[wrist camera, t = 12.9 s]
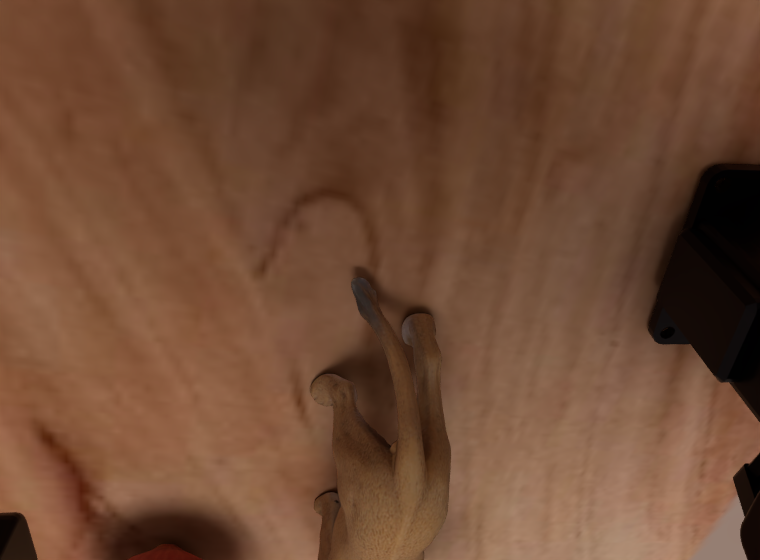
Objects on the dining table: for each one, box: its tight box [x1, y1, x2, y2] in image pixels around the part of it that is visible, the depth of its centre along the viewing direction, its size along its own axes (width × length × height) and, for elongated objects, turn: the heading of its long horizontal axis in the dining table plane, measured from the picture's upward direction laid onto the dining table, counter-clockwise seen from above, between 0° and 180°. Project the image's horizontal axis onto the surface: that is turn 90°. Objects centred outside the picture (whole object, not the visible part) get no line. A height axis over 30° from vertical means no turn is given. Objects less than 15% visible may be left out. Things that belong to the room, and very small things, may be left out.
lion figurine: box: [310, 277, 451, 560], centre depth 23 cm, size 15×5×9 cm, turn 4°
